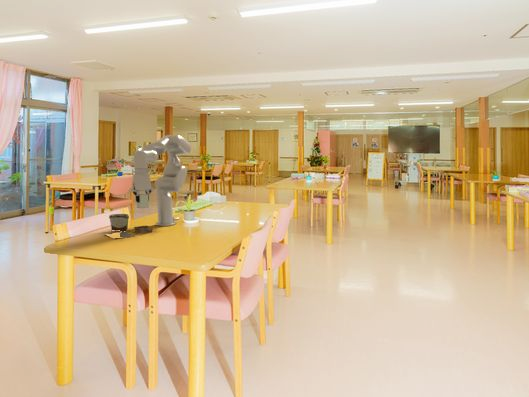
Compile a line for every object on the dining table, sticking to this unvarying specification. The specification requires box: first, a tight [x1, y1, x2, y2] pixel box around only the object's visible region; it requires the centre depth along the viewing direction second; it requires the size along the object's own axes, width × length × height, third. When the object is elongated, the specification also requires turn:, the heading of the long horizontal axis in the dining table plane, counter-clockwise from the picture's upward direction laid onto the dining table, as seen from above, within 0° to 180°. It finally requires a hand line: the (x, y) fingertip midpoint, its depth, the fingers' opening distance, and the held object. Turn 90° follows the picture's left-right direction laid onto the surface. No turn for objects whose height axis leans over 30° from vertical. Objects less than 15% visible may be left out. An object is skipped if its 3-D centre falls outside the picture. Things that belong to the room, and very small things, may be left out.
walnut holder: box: [133, 225, 153, 235], centre depth 236 cm, size 8×8×3 cm
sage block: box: [136, 193, 150, 209], centre depth 235 cm, size 5×5×8 cm
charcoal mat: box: [120, 231, 136, 238], centre depth 227 cm, size 12×16×1 cm
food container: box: [108, 213, 130, 232], centre depth 241 cm, size 12×6×10 cm, turn 84°
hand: (142, 201), depth 235 cm, fingers closed on sage block, 5 cm apart
